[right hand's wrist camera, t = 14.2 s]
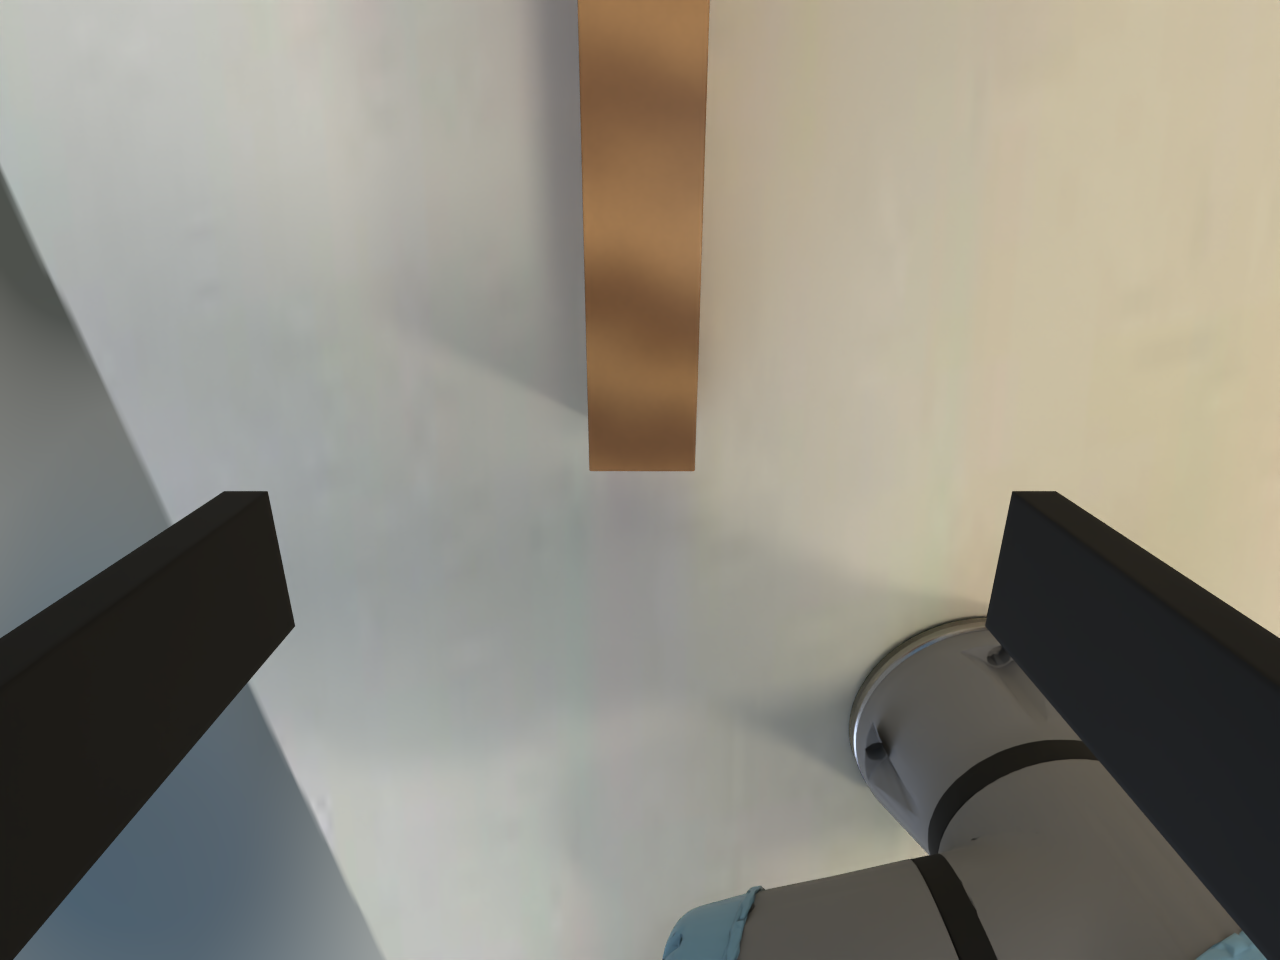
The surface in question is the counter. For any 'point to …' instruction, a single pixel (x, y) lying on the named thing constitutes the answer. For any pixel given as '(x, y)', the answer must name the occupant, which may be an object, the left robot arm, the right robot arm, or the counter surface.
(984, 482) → the counter surface
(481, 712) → the counter surface
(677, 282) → the beam
